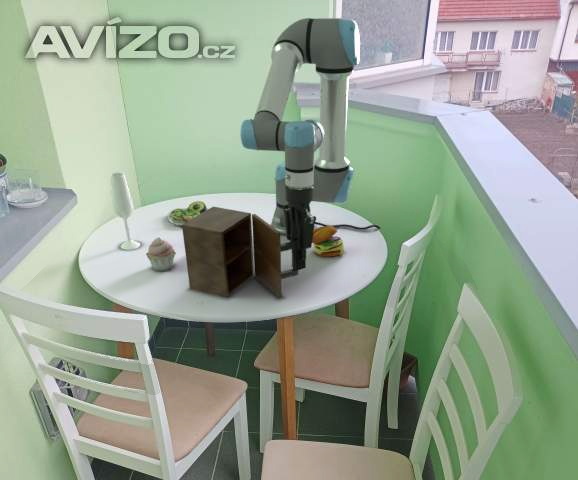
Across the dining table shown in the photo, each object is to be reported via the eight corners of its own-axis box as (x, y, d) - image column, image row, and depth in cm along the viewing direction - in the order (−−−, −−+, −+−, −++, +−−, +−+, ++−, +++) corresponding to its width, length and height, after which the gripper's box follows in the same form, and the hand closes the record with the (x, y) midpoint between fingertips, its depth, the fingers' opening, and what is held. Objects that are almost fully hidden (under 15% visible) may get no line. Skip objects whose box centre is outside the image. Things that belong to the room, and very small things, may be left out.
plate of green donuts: (218, 228, 207) (217, 216, 205) (168, 232, 205) (167, 219, 202) (214, 210, 223) (213, 198, 220) (168, 213, 220) (166, 201, 217)
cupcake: (182, 268, 181) (179, 238, 175) (155, 276, 176) (150, 245, 170) (170, 258, 187) (165, 229, 181) (143, 265, 183) (138, 236, 177)
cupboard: (254, 276, 176) (251, 213, 164) (227, 298, 165) (221, 232, 153) (218, 268, 181) (213, 206, 169) (189, 289, 169) (181, 224, 157)
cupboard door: (277, 271, 178) (275, 209, 167) (302, 292, 167) (302, 227, 155) (254, 276, 175) (251, 214, 164) (278, 298, 164) (277, 233, 152)
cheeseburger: (340, 260, 184) (334, 231, 179) (310, 263, 189) (303, 234, 183) (348, 247, 192) (342, 219, 186) (319, 250, 196) (312, 223, 191)
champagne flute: (120, 250, 192) (105, 178, 178) (120, 242, 198) (106, 172, 183) (140, 248, 193) (127, 177, 179) (140, 241, 199) (128, 170, 184)
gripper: (272, 180, 154) (274, 261, 168) (303, 195, 144) (302, 280, 158) (295, 176, 157) (295, 255, 172) (327, 190, 148) (324, 273, 162)
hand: (298, 267), depth 165 cm, fingers closed on cupboard door, 2 cm apart
